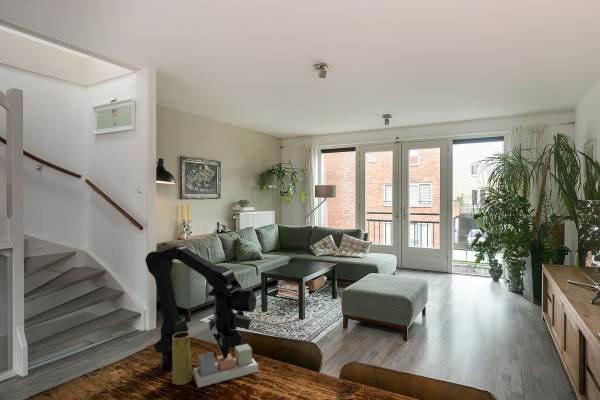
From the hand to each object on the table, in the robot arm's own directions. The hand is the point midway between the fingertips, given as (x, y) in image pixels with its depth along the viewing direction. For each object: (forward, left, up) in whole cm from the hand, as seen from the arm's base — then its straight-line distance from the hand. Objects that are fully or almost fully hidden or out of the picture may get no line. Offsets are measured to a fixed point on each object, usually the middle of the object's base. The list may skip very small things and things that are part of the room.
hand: (225, 357), depth 112 cm
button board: (0, 0, -5) cm, 5 cm away
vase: (-3, -13, -5) cm, 14 cm away
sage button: (0, +6, -3) cm, 7 cm away
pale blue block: (0, -6, -3) cm, 7 cm away
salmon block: (0, 0, -5) cm, 5 cm away
